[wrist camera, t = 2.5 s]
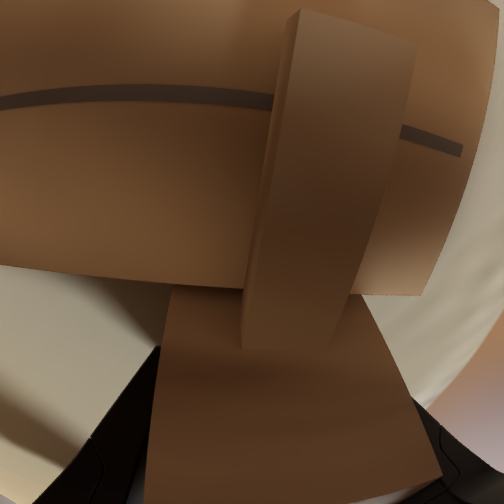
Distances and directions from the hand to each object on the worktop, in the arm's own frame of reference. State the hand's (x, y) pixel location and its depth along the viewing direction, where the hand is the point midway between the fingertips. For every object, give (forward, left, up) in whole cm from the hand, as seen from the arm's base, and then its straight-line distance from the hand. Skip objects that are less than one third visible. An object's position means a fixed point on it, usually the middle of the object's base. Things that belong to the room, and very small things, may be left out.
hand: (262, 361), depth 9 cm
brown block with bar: (+3, 0, -1) cm, 3 cm away
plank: (+7, +6, -1) cm, 9 cm away
